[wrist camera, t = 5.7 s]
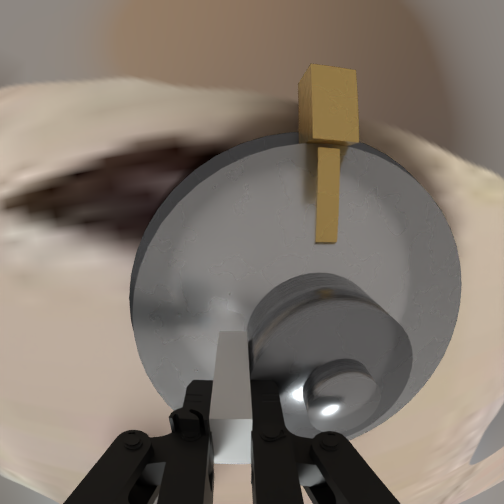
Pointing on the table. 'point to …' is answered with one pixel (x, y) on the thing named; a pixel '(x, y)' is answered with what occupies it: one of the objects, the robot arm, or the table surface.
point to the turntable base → (210, 169)
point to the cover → (328, 354)
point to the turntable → (296, 245)
